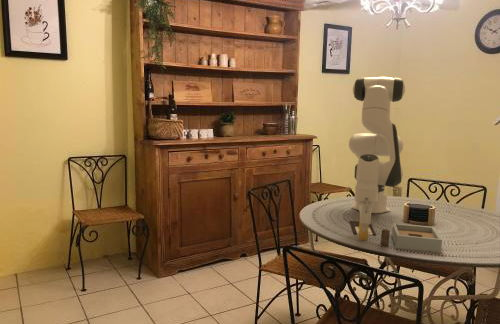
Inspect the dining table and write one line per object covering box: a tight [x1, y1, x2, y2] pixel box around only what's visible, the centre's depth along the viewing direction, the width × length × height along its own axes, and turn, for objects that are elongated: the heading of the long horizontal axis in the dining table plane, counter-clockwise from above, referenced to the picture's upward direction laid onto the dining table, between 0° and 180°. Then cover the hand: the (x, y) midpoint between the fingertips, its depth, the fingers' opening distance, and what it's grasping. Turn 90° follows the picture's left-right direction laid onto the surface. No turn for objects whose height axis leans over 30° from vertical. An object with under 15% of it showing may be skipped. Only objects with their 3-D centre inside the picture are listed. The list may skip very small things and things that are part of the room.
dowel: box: [358, 222, 369, 241], centre depth 168 cm, size 4×4×10 cm
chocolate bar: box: [349, 220, 377, 237], centre depth 183 cm, size 9×1×18 cm
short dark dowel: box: [380, 228, 391, 248], centre depth 162 cm, size 3×3×6 cm
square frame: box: [391, 222, 443, 254], centre depth 165 cm, size 16×16×5 cm
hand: (363, 229), depth 169 cm, fingers closed on dowel, 4 cm apart
